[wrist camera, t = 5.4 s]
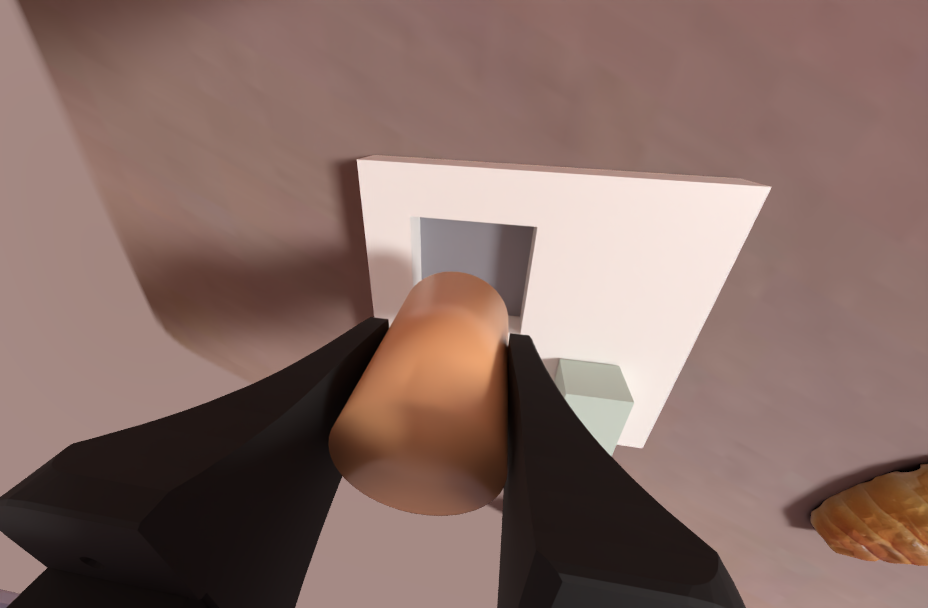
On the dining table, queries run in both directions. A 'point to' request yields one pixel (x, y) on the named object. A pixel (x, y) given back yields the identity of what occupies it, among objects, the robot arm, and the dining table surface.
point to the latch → (596, 398)
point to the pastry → (879, 519)
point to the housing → (566, 256)
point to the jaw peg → (432, 403)
